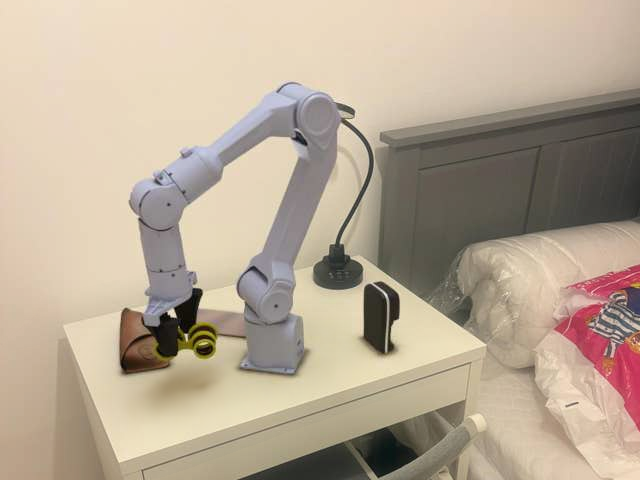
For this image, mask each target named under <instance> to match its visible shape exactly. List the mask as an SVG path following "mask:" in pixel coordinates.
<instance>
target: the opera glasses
mask: <svg viewBox="0 0 640 480" xmlns="http://www.w3.org/2000/svg"><path fill="white" fill-rule="evenodd" d="M218 337H219V335H218V331H217V328H216V327H215V326H214V325H213V324H211V323H208V322H200V323H197V324H195V325H194V326H193V327H192V328H191V329H190V330H189V332H188V334H187V338H186V334H184V333H183V332H182V330H181V329H180V328H179V327H178V353H180V351H183V350H189V351H190V350H191V351H193V353H194V356H195V357H196V358H198V359H201V360H207V359H210V358H213V356H214V355H215V354H216V351H217V340H218ZM202 343H205V344H202ZM153 351H154V354H155V355H156V356H157V357H158V358H159V359H161V360H164V361H169V362H170V361H172V360H173V359H174V358H175V357H172V356H164V354H163V352H162V350H161V348H160V346H159V345H158V343H157V341H156V344H155V345H154V348H153Z"/></svg>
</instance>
